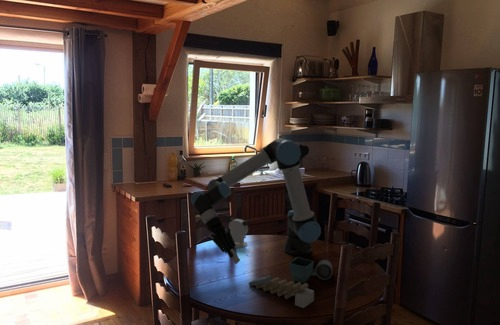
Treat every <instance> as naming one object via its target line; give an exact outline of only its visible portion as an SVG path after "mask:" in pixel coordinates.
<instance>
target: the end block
mask: <svg viewBox="0 0 500 325" xmlns="http://www.w3.org/2000/svg"><path fill="white" fill-rule="evenodd" d="M314 301H315V290H313V289H310V288H308V287H307V288H305V289H304V290H302V291H300V292H298V293H297V294H295V295H294V306H297V307H300V308H302V309H304V308H306V307H307V306H309V305H310V304H312V303H314Z"/></svg>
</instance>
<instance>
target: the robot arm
mask: <svg viewBox="0 0 500 325" xmlns="http://www.w3.org/2000/svg"><path fill="white" fill-rule="evenodd" d="M301 155H302V153H301V148H300V145H299V144H297V142H295V141H293V140H292V139H286V138H281V137H280V138H277V139H275V140H272V141H271V142H269V143H268V144H266V145H265V146H263V147H262V148H261V149H260V151H259V152H258V153H256V154H254V155H252V156H251V157H250V158H248V159H245V161H243V162H242V163H240V164H237V165H236V166H235V167H234V168H232V169H230V170H229V171H227V172H225V173H224V174H221V175H220V176H219V177H217V178H216V179H211V180H210V181H209V182H208V184H207V191H205V192H203V191H202V190H199V191H196V192H195V193H193V194H192V195H191V196H190V199H189V200H190V202H191V205H193V206H192V207H193V208H194V210H195V212H197V215H199V217H200V219H201V221H202V223H203V224H205V227H206V229H207V231H208V232H210V235H209V236H208V239H210V240H211V241H213V243H214V245H215V246H216V247H218V249H220V251H221V252H222V253H225V254H227V255H228V256H229V258H231V260H232V262H233V263H234V264H235V265H237V264H238V263H239V262H241V259H240V258H239V256H238V253H237V251H236V249H235V248H234V247H235V246H236V245H235V242H234V240H233V238H232V235H231V233H230V229H229V227H228V228H225V226H224V225H223V222H222V220H221V218H220V216H218V214H217V212H216V210H215V209H214V207H213V206H215V205H217V204H218V203H220V202H221V201H222V200H225V199H226V198H228V197H229V196H231V194H232V189H231V187H233V186H235V185H236V184H237V183H238V184H239V182H241V181H243V180H244V179H246V178H247V177H249V176H250V175H252V174H254V173H255V172H258V171H259V170H261V169H262V168H263V167H265V166H267V165H268V164H269V165H272V164H273V163H275V162H276V164H277V168H278V171H282V175H283V179H284V182H285V186H286V190H287V194H288V197H289V200H290V205H291V207H292V209H291V210H289V211H287V236H286V239H285V242H284V245H283V251H284V252H285V253H286V254H289V255H294V256H306V255H309V254H311V252H312V245H311V243H314V242H315V241H317V240H318V239H319V237H320V236H321V234H322V232H321V231H322V229H321V226H320V224H319V223H318V222H317V219H316V215H315V212H314V211H312V210H311V206H310V204H309V199H308V196H307V193H306V192H307V191H306V190H305V189H306V188H305V184H304V181H303V176H302V173H301V169H300V166H301V164H302V162H301Z"/></svg>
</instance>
